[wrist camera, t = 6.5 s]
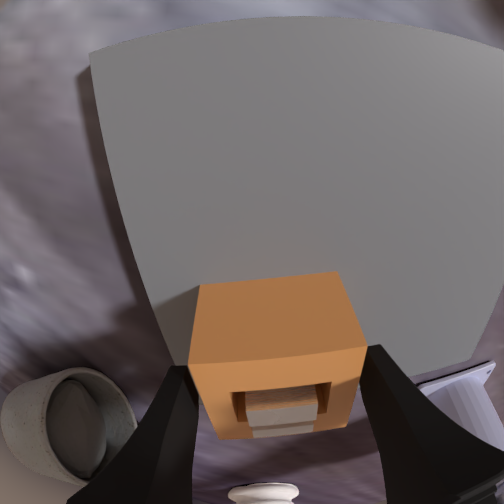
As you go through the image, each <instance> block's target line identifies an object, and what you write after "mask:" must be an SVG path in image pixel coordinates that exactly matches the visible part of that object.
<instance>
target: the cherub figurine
mask: <svg viewBox="0 0 504 504" xmlns="http://www.w3.org/2000/svg"><path fill="white" fill-rule="evenodd" d="M298 494H299V490H298V489H297V487H296V486H294V485H293V484H287V483H286V484H285V483H283V484H282V483H281V484H280V483H265V484H262V483H260V484H257V483H256V484H252V485H248V486H244V487H242V486H241V487H235V488H233V489H231V490H230V491H229V493H228V497H229V499H231V500H233V501H235V502H236V503H237V504H294V503H293V502H291V499H293V498H295V497H296V496H297V495H298Z"/></svg>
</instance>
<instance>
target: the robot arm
mask: <svg viewBox="0 0 504 504" xmlns="http://www.w3.org/2000/svg"><path fill="white" fill-rule="evenodd" d="M495 365H496V364H495V362H494V361H490V362H488V363H485V364H482V365H480V366H477V367H474V368H471V369H468V370H466V371H463V372H460V373H457V374H454V375H451V376H447V377H444V378H441V379H438V380H434V381H431V382H427V383H424V384H421V385H419V386H418V387H416V385H415V384H414V383H413V382H412V381H411V380H410V379H409V378H408V377H407V375H406V374H405V373H404V372H403V371H402V370H401V368H400V367H399V366H398V365H397V364H396V362H395V361H394V360H393V359H392V358H391V356H390V355H389V354H388V353H387V351H386V350H385V349H384V348H383V346H382V345H381V344H378V345H372V346H368V347H367V351H366V356H365V360H364V364H363V368H362V372H361V376H360V380H359V385H360V390H361V394H362V399H363V403H364V406H365V409H366V412H367V415H368V418H369V421H370V424H371V427H372V430H373V433H374V436H375V439H376V442H377V445H378V449H379V453H380V458H381V463H382V469H383V475H384V481H385V488H386V498H387V504H504V427H503V425H502V423H501V421H500V419H499V417H498V415H497V413H496V411H495V408H494V406H493V404H492V402H491V400H490V399H489V397H488V395H487V393H486V391H485V389H484V387H483V385H484V383H485V382H486V380H487V378H488V377H489V375H490V374H491V372H492V371H493V369H494V367H495ZM198 418H199V394H198V392H197V389H196V387H195V384H194V382H193V379H192V377H191V374H190V372H189V369H188V367H187V365H178V366H171V367H170V368H169V370H168V372H167V374H166V377H165V379H164V381H163V383H162V385H161V387H160V388H159V390H158V392H157V394H156V396H155V398H154V400H153V401H152V403H151V405H150V407H149V408H148V410H147V412H146V414H145V415H144V417H143V418H142V420H141V421H140V423H139V425H138V426H137V428H136V429H135V431H134V432H133V434H132V435H131V436H130V438H129V439H128V441H127V442H126V443H125V445H124V446H123V447H122V448H121V450H120V451H119V452H118V453H117V454H116V456H115V457H114V458H113V459H112V460H111V461H110V462H109V464H108V465H107V466H106V467H105V468H104V469H103V470H102V471H101V472H100V473H99V474H98V475H97V476H96V477H94V478H93V479H92V480H91V481H90V482H89V483H88V484H87V485H86V486H84V487H83V488H82V489H81V490H79V491H78V492H77V493H76V494H74V495H73V496H72V497H70V498H69V499H68V500H67V503H66V504H192V466H193V457H194V449H195V442H196V434H197V426H198Z"/></svg>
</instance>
